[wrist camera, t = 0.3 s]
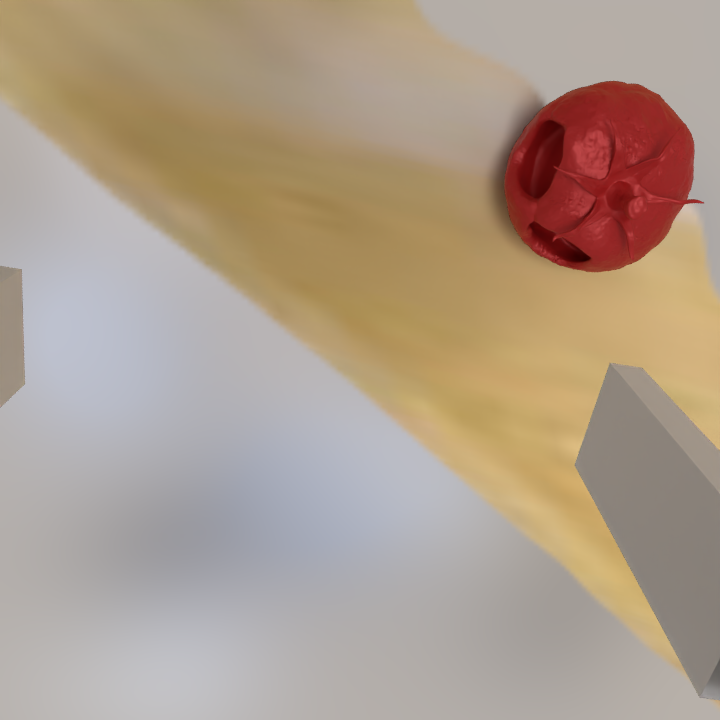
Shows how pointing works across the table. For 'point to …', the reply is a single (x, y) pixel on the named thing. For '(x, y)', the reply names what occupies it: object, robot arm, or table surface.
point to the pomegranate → (599, 176)
